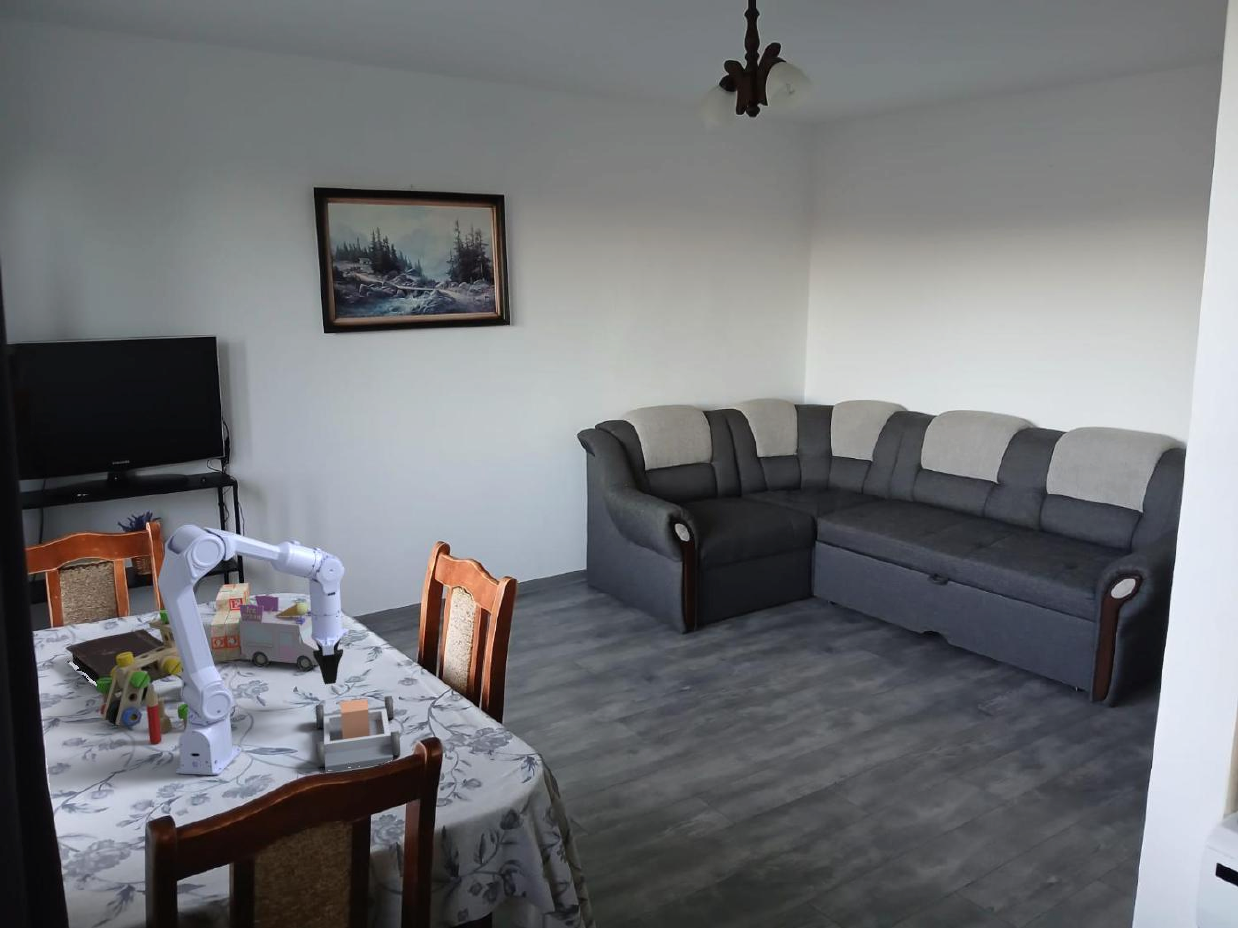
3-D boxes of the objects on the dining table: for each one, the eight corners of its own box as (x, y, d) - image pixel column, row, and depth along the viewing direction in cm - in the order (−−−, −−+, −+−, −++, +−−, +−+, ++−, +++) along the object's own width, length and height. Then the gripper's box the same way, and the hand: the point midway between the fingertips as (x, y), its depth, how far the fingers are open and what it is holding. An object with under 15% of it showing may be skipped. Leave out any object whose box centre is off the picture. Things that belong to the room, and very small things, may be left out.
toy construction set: (227, 730, 186) (219, 632, 182) (98, 757, 176) (86, 653, 172) (213, 680, 209) (205, 592, 205) (98, 701, 199) (88, 608, 195)
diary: (148, 646, 230) (146, 626, 229) (189, 675, 213) (188, 654, 212) (63, 666, 217) (61, 646, 216) (100, 699, 200) (98, 677, 199)
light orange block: (369, 738, 180) (368, 709, 179) (342, 742, 179) (341, 712, 177) (368, 726, 185) (367, 698, 184) (342, 730, 183) (340, 701, 182)
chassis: (401, 761, 174) (400, 739, 173) (317, 773, 170) (315, 751, 169) (391, 710, 194) (391, 690, 194) (317, 720, 190) (315, 699, 189)
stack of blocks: (241, 659, 220) (237, 610, 218) (212, 662, 219) (208, 612, 217) (252, 627, 241) (248, 581, 238) (226, 629, 239) (222, 583, 237)
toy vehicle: (316, 674, 212) (312, 611, 209) (238, 667, 216) (233, 605, 213) (336, 658, 221) (332, 597, 218) (261, 651, 225) (256, 592, 222)
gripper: (348, 621, 181) (351, 687, 183) (345, 597, 194) (349, 659, 197) (309, 625, 179) (314, 692, 181) (310, 601, 192) (314, 663, 195)
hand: (329, 675), depth 189 cm, fingers open, 7 cm apart
